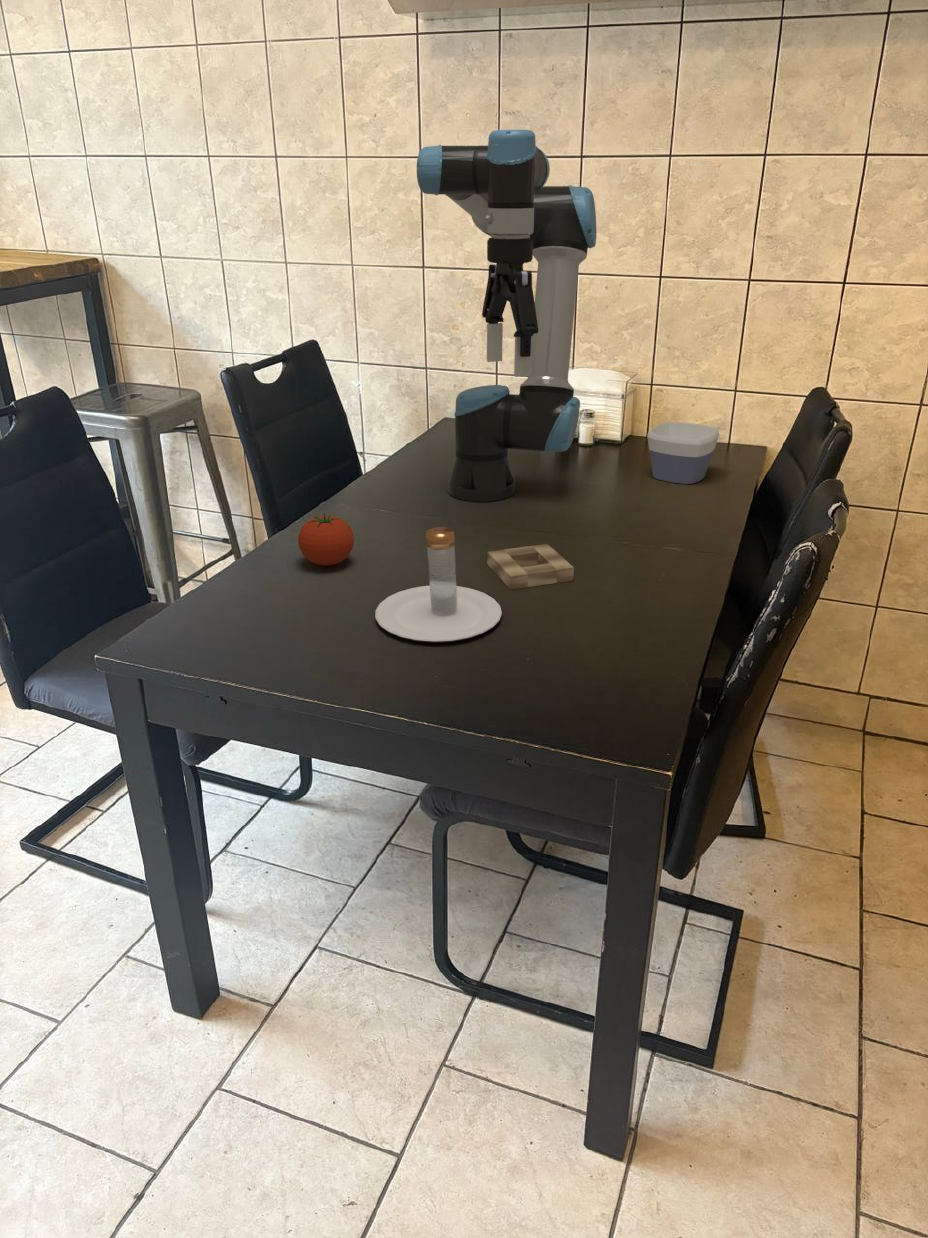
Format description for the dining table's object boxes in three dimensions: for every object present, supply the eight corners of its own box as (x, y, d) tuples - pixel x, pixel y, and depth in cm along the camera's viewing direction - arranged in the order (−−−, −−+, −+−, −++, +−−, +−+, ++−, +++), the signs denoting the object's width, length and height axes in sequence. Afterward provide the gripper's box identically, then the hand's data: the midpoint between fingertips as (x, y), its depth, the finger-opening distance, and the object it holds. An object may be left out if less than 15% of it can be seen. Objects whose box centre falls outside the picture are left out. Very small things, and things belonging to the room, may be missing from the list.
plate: (457, 662, 137) (457, 652, 136) (349, 628, 147) (348, 619, 146) (524, 610, 153) (524, 601, 152) (422, 583, 163) (422, 574, 162)
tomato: (333, 549, 176) (329, 499, 172) (366, 563, 170) (363, 512, 165) (289, 563, 170) (284, 513, 166) (322, 579, 163) (318, 527, 159)
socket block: (487, 564, 169) (487, 551, 168) (546, 556, 173) (547, 543, 172) (510, 589, 159) (510, 576, 158) (573, 580, 163) (573, 567, 161)
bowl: (721, 473, 218) (726, 427, 213) (699, 490, 207) (704, 442, 202) (660, 463, 226) (664, 418, 221) (635, 479, 214) (639, 433, 209)
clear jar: (427, 602, 152) (422, 529, 146) (453, 597, 153) (449, 525, 147) (434, 613, 148) (430, 538, 142) (461, 608, 149) (457, 534, 144)
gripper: (464, 232, 159) (464, 356, 168) (516, 242, 137) (513, 384, 147) (504, 230, 161) (502, 354, 170) (562, 240, 140) (556, 380, 149)
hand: (507, 368), depth 159 cm, fingers open, 13 cm apart
